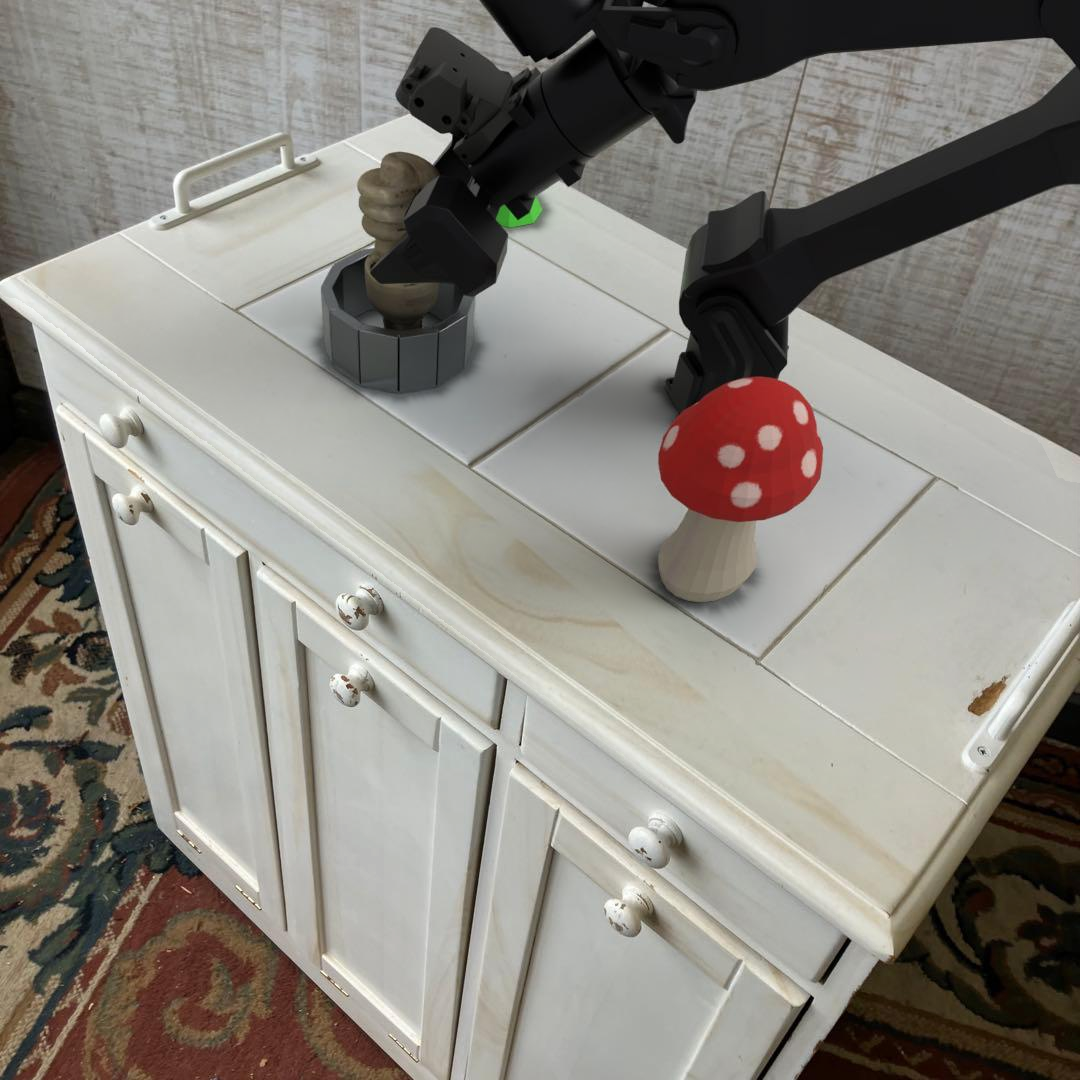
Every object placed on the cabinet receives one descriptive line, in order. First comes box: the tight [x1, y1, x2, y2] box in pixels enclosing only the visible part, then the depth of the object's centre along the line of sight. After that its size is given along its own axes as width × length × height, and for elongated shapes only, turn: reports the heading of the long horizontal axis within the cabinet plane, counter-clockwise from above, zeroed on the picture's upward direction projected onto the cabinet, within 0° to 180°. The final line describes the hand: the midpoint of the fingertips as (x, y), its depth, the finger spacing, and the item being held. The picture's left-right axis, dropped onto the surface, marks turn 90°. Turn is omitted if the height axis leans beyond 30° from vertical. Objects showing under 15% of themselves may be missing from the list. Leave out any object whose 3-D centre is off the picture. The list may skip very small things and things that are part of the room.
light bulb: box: [356, 151, 440, 331], centre depth 75 cm, size 6×6×15 cm
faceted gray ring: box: [320, 247, 476, 394], centre depth 79 cm, size 11×11×5 cm
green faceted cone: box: [496, 195, 543, 228], centre depth 92 cm, size 6×6×6 cm
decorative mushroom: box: [657, 377, 824, 603], centre depth 64 cm, size 10×9×15 cm
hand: (393, 239), depth 74 cm, fingers open, 9 cm apart
